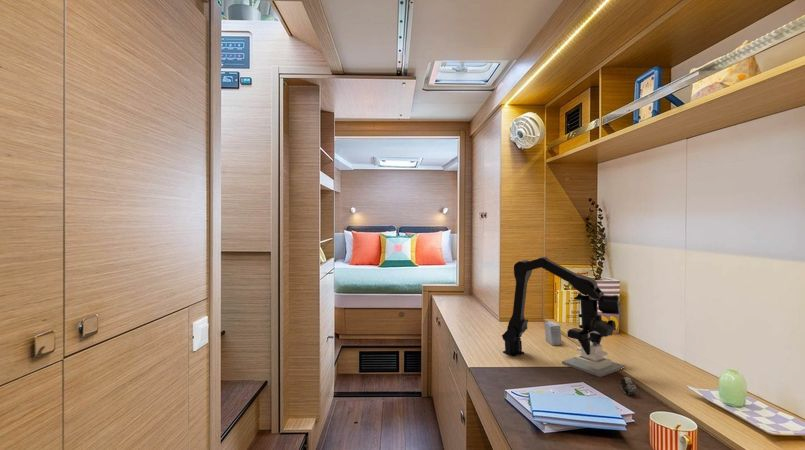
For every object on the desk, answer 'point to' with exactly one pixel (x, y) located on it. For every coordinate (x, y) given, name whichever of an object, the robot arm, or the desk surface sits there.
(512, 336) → the robot arm
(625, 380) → the dark grey lumpy piece
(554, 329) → the medicine box
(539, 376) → the desk surface
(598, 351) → the servo block
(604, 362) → the plate
